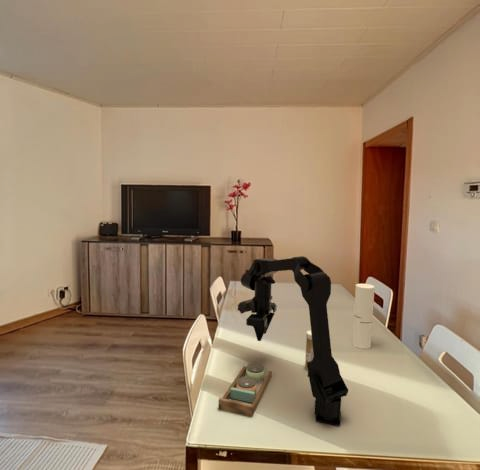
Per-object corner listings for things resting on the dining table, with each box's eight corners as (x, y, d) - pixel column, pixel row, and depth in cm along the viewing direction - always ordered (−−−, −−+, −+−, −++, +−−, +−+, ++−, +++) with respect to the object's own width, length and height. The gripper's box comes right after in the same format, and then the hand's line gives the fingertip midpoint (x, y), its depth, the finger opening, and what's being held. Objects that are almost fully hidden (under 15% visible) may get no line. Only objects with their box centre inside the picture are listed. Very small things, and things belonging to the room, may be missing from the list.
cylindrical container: (357, 340, 150) (360, 282, 147) (373, 345, 145) (377, 286, 142) (349, 344, 145) (352, 285, 142) (365, 350, 140) (369, 289, 137)
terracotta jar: (258, 390, 111) (258, 378, 110) (252, 400, 105) (253, 388, 105) (240, 386, 113) (240, 374, 112) (233, 396, 107) (234, 384, 107)
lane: (271, 376, 119) (271, 367, 119) (252, 417, 97) (252, 406, 97) (243, 371, 122) (243, 362, 122) (218, 409, 101) (218, 399, 100)
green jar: (265, 375, 120) (266, 364, 119) (261, 384, 114) (261, 372, 114) (249, 372, 122) (249, 361, 121) (243, 381, 116) (244, 369, 116)
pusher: (254, 400, 105) (255, 391, 104) (253, 403, 104) (253, 394, 103) (231, 395, 107) (231, 387, 107) (230, 398, 106) (230, 389, 106)
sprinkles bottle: (303, 365, 127) (304, 329, 125) (315, 365, 127) (317, 329, 126) (306, 372, 122) (308, 334, 121) (319, 371, 123) (321, 334, 121)
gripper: (248, 285, 134) (247, 324, 135) (231, 299, 116) (231, 344, 118) (277, 288, 130) (276, 328, 132) (264, 303, 112) (263, 349, 114)
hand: (261, 337), depth 124 cm, fingers open, 6 cm apart
